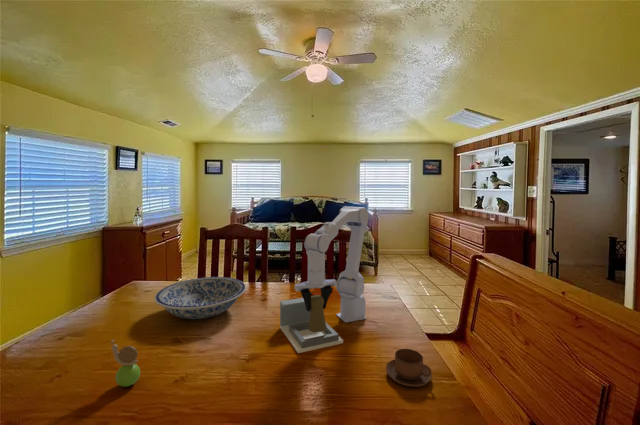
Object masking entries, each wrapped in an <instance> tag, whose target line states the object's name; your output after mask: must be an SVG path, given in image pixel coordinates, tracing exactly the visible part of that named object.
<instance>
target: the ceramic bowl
mask: <svg viewBox="0 0 640 425" xmlns="http://www.w3.org/2000/svg"><path fill="white" fill-rule="evenodd" d="M246 289H247V286H246V284H245V282H243V281H242V280H241V279H240V280H239V279H237V278H233V277H226V276H206V277H198V278H192V279H186V280H182V281H178V282H176V283H172V284H169V285H167V286H166V287H163V288H161V289H160V290H159V291H158V292H157V293H156V294H155V296H154V302H155V304H156V305H158V306H160V307H162V308H164V310H166V311H167V312H168V313H170V314H171V315H173V316H176V317H178V318H181V319H186V320H201V319H202V320H203V319H207V318H212V317H215V316H218V315H220V314H223V313H224V312H226V311H228V310H229V309H230V308H231V307H232V306H233V305H234V304H235V303H236V302H237V301H238V299H239V298H240V297H241V296H243V294H244V293H245V292H246Z"/></svg>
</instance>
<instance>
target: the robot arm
mask: <svg viewBox="0 0 640 425" xmlns="http://www.w3.org/2000/svg"><path fill="white" fill-rule="evenodd" d="M369 217H370V214H369V210H368V209H367V207H365V206H362V207H361V206H347V205H344V206H342V208H340V209H339V214H338V215H336V217H335V218H334V219H333V220H332V221H325V222H324V223H323V225H322V226H321V227H320V228H319V229H317V230H316V231H314V233H310V234H308V235H306V237H305V239H304V242H303V246H304V248H305V250H306V251H305V253H306V255H307V281H303V282H300V283H295V284H294V290H295V291H296V292H300V294H301V295H302V296H301V297H302V298H303V299H304V302H305V306H306V310H307V311H310V301H311V296H313V293H312V292H311V290H313V289H319V290H320V296H322V297H323V298H324V304H323V310H326V308H327V305H328V304H327V303H328V301H329V298H330V296H331V294H332V293H333V290H334V289H333V287H336V291H337V293H339V294H338V295H339V296H340V312H338V313H336V316H337V317H338V318H340V320H342V321H343V322H344V323H350V322H357V321H360V320H366V319H367V317H366V305H367V304H366V298H365V296H364V295H363V294H364V291H365V284H364V282H365V277H363V275H362V274H361V272H360V271H359V270H360V269H359V268H360V263H361V257H362V249H363V243H364V238H365V237H364V236H365V230H367V229H368V224H369ZM343 226H346V227H347V228H349V229H350V237H349V245H348V252H347V258H346V262H345V263H346V264H345V270H344V271H341V272H340V273H339V276H338V279H337V280H336V279H332V278H331V279H325V278H326V277H325V275H326V272H325V271H326V267H325V266H326V264H325V263H326V251H328V249H329V247H330V246H329V245H331V241H333V240H334V238H336V237H337V236H338V235H339V230H340V229H341V228H342V227H343Z"/></svg>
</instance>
